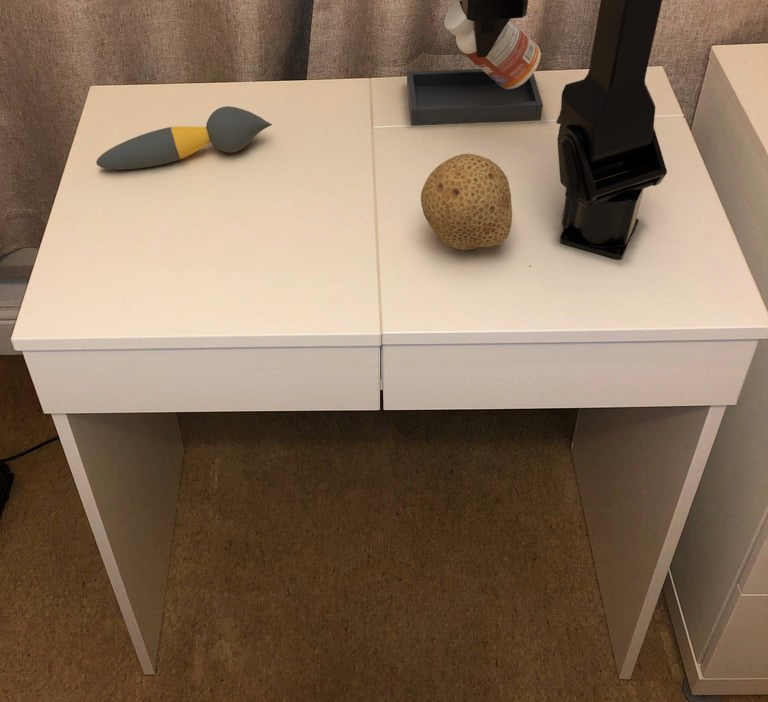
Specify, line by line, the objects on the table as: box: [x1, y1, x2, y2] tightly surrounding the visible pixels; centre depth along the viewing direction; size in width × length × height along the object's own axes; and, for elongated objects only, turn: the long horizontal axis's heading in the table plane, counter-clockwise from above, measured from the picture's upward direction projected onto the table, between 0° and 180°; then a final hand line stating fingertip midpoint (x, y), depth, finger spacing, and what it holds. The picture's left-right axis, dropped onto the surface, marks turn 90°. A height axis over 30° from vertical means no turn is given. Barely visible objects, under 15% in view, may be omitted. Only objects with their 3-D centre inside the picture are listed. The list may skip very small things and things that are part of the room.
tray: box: [406, 68, 544, 126], centre depth 105 cm, size 15×8×2 cm, turn 92°
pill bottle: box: [443, 0, 542, 89], centre depth 100 cm, size 6×6×11 cm
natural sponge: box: [420, 153, 513, 251], centre depth 85 cm, size 9×9×10 cm
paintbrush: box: [95, 105, 273, 170], centre depth 97 cm, size 20×5×5 cm, turn 111°
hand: (476, 42), depth 100 cm, fingers closed on pill bottle, 6 cm apart
